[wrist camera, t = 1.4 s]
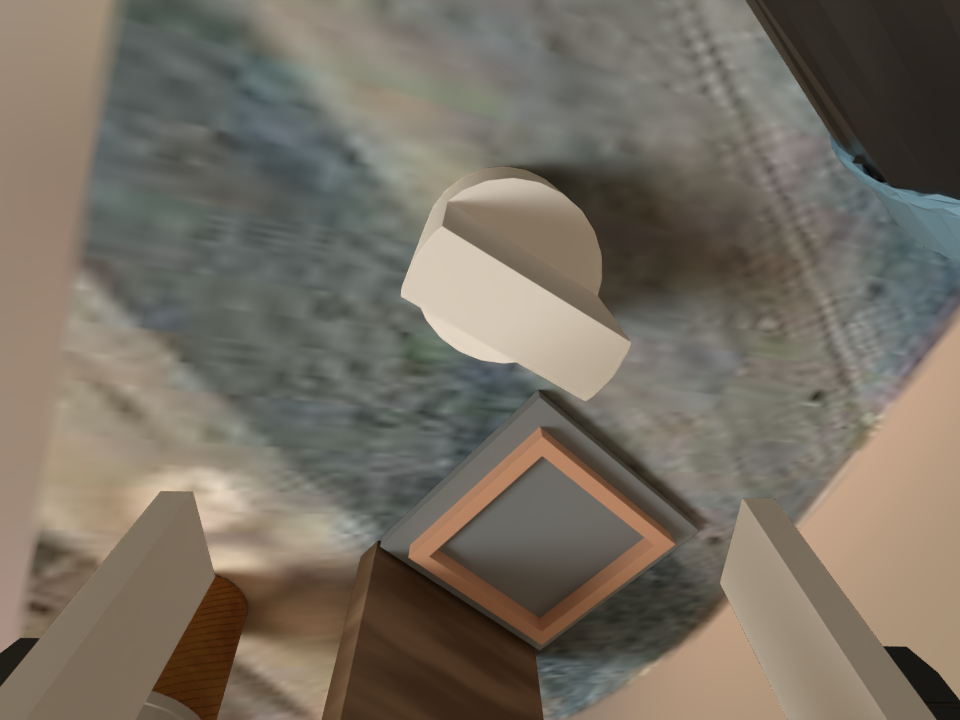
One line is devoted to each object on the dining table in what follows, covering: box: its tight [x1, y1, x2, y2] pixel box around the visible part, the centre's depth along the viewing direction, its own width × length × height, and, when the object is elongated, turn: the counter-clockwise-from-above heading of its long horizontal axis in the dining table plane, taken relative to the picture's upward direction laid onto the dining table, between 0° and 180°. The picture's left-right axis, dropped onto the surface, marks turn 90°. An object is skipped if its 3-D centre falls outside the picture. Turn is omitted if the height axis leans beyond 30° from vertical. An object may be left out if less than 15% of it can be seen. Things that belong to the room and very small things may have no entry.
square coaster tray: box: [380, 390, 699, 650], centre depth 39 cm, size 16×16×2 cm
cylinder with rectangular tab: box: [401, 166, 631, 401], centre depth 26 cm, size 9×9×12 cm
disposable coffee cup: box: [135, 576, 248, 720], centre depth 37 cm, size 10×10×12 cm
